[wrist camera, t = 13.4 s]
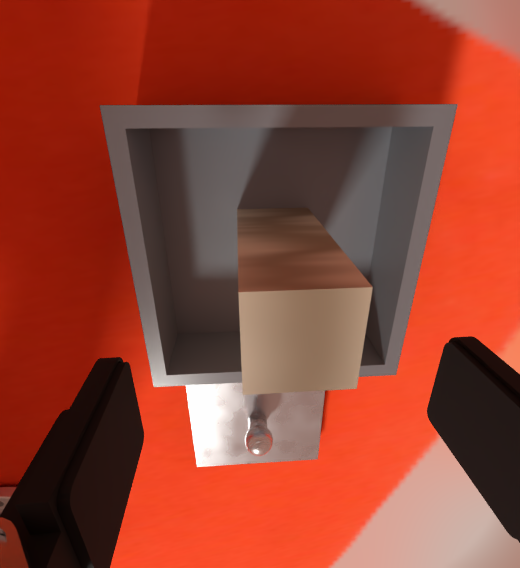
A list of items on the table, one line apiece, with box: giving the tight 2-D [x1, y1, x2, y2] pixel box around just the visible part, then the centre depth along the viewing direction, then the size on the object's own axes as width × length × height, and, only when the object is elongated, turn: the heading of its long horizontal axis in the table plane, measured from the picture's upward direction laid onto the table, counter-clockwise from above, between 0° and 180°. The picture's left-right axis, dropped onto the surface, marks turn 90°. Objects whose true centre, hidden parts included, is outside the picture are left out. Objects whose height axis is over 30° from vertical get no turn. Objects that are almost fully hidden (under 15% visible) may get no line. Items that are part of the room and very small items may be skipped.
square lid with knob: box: [186, 383, 325, 467], centre depth 25 cm, size 10×10×4 cm
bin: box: [100, 104, 457, 387], centre depth 18 cm, size 14×14×5 cm
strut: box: [237, 208, 373, 395], centre depth 15 cm, size 4×4×10 cm
